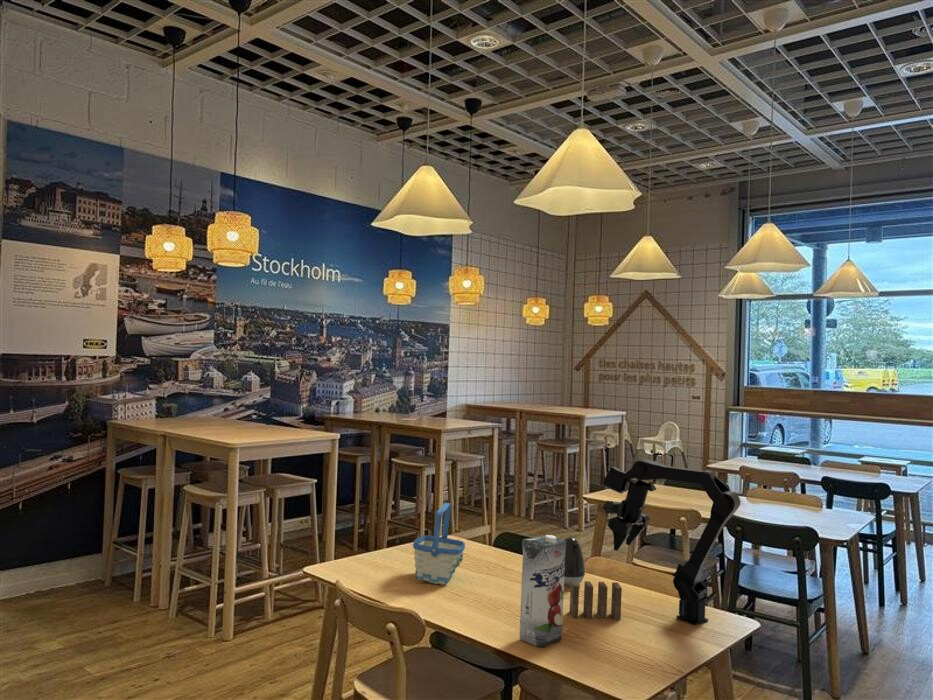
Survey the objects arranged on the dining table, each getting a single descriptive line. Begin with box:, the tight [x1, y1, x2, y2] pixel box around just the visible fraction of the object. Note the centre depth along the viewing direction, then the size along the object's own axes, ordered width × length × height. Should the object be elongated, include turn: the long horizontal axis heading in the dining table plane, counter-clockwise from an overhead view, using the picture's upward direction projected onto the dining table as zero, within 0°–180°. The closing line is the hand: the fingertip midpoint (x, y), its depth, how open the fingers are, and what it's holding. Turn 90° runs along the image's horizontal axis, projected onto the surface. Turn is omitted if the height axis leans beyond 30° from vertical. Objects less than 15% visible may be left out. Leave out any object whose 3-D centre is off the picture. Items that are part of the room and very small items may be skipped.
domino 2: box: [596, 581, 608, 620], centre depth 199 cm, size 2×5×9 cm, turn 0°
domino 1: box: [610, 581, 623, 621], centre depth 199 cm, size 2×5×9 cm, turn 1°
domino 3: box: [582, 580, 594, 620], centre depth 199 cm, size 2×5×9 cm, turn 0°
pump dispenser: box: [563, 536, 586, 587], centre depth 229 cm, size 10×10×15 cm
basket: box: [412, 502, 466, 586], centre depth 229 cm, size 21×16×24 cm
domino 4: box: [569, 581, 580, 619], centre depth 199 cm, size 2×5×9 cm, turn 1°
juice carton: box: [519, 534, 566, 648], centre depth 179 cm, size 9×10×27 cm
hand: (621, 547), depth 212 cm, fingers open, 9 cm apart
